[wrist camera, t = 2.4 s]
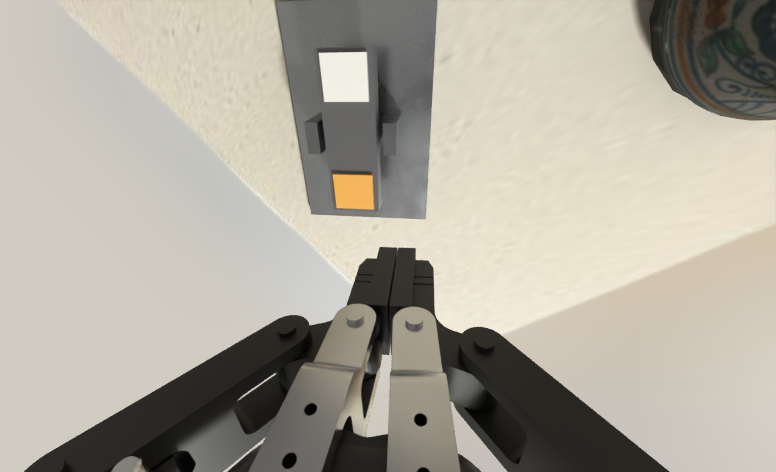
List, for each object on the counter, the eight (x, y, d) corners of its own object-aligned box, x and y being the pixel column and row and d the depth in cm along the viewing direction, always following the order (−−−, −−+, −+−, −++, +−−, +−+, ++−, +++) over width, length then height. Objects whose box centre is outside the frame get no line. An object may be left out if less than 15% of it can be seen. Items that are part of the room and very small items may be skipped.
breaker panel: (280, 2, 24) (246, -7, 20) (437, -4, 23) (438, -15, 18) (313, 210, 33) (295, 235, 29) (425, 215, 32) (424, 242, 28)
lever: (320, 47, 22) (312, 47, 20) (376, 46, 21) (372, 46, 20) (338, 201, 28) (332, 211, 27) (381, 203, 28) (378, 212, 26)
